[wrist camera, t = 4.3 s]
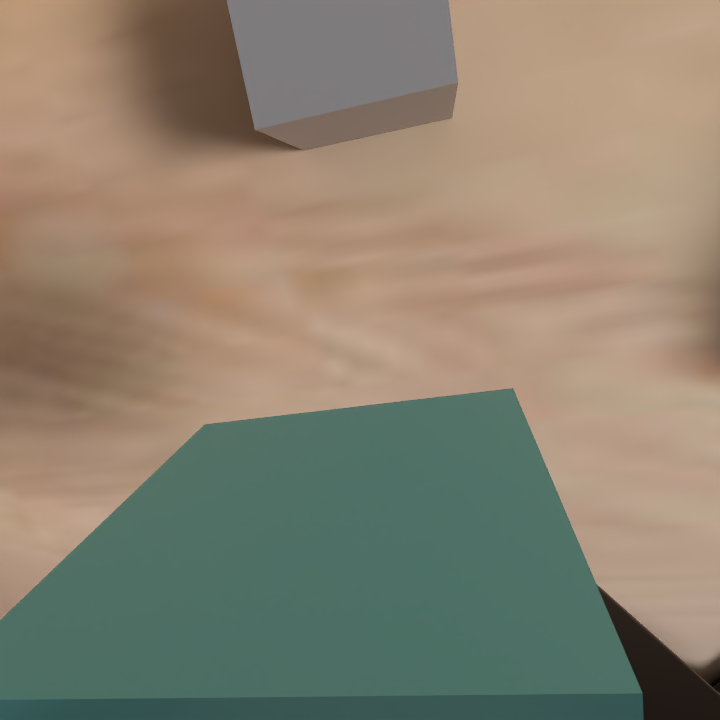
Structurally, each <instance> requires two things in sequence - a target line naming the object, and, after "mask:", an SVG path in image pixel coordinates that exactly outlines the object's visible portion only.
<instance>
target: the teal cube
mask: <svg viewBox="0 0 720 720" xmlns="http://www.w3.org/2000/svg"><path fill="white" fill-rule="evenodd" d="M0 720H644V716H643V693H642V691H641V688H640V686H639V684H638V681H637V679H636V677H635V674H634V672H633V670H632V667H631V665H630V663H629V660H628V658H627V655H626V653H625V651H624V648H623V646H622V644H621V641H620V639H619V637H618V634H617V632H616V630H615V627H614V625H613V623H612V620H611V618H610V615H609V613H608V611H607V608H606V606H605V604H604V601H603V599H602V597H601V594H600V592H599V590H598V587H597V585H596V583H595V580H594V578H593V575H592V573H591V571H590V568H589V566H588V564H587V561H586V559H585V557H584V554H583V552H582V550H581V547H580V545H579V543H578V540H577V538H576V535H575V533H574V531H573V528H572V526H571V524H570V521H569V519H568V517H567V514H566V512H565V510H564V507H563V505H562V503H561V500H560V498H559V495H558V493H557V491H556V488H555V486H554V484H553V481H552V479H551V477H550V474H549V472H548V470H547V467H546V465H545V463H544V460H543V458H542V455H541V453H540V451H539V448H538V446H537V444H536V441H535V439H534V437H533V434H532V432H531V430H530V427H529V425H528V423H527V420H526V418H525V415H524V413H523V411H522V408H521V406H520V404H519V401H518V399H517V397H516V394H515V392H514V390H513V388H512V389H504V390H495V391H487V392H478V393H470V394H461V395H453V396H444V397H435V398H427V399H418V400H410V401H401V402H393V403H384V404H376V405H367V406H359V407H350V408H342V409H333V410H325V411H316V412H308V413H299V414H290V415H282V416H273V417H265V418H256V419H248V420H239V421H231V422H222V423H214V424H205V425H204V426H203V427H202V428H201V429H200V430H199V431H198V432H197V433H196V434H194V435H193V436H192V437H191V438H190V439H189V440H188V441H187V442H186V443H185V444H184V445H183V446H182V447H181V448H180V449H179V450H178V451H177V452H176V453H175V454H174V455H173V456H171V457H170V458H169V459H168V460H167V461H166V462H165V463H164V464H163V465H162V466H161V467H160V468H159V469H158V470H157V471H156V472H155V473H154V474H153V475H152V476H151V477H150V478H148V479H147V480H146V481H145V482H144V483H143V484H142V485H141V486H140V487H139V488H138V489H137V490H136V491H135V492H134V493H133V494H132V495H131V496H130V497H129V498H128V499H126V500H125V501H124V502H123V503H122V504H121V505H120V506H119V507H118V508H117V509H116V510H115V511H114V512H113V513H112V514H111V515H110V516H109V517H108V518H107V519H106V520H105V521H103V522H102V523H101V524H100V525H99V526H98V527H97V528H96V529H95V530H94V531H93V532H92V533H91V534H90V535H89V536H88V537H87V538H86V539H85V540H84V541H83V542H82V543H80V544H79V545H78V546H77V547H76V548H75V549H74V550H73V551H72V552H71V553H70V554H69V555H68V556H67V557H66V558H65V559H64V560H63V561H62V562H61V563H60V564H58V565H57V566H56V567H55V568H54V569H53V570H52V571H51V572H50V573H49V574H48V575H47V576H46V577H45V578H44V579H43V580H42V581H41V582H40V583H39V584H38V585H37V586H35V587H34V588H33V589H32V590H31V591H30V592H29V593H28V594H27V595H26V596H25V597H24V598H23V599H22V600H21V601H20V602H19V603H18V604H17V605H16V606H15V607H14V608H12V609H11V610H10V611H9V612H8V613H7V614H6V615H5V616H4V617H3V618H2V619H1V620H0Z"/></svg>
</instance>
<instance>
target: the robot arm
mask: <svg viewBox="0 0 720 720" xmlns="http://www.w3.org/2000/svg"><path fill="white" fill-rule="evenodd" d="M596 585H597V584H596ZM597 587H598V590H599V592H600V594H601V597H602V599H603V601H604V604H605V606H606V608H607V611H608V613H609V615H610V618H611V620H612V623H613V625H614V627H615V630H616V632H617V634H618V637H619V639H620V641H621V644H622V646H623V648H624V651H625V653H626V655H627V658H628V660H629V663H630V665H631V667H632V670H633V672H634V674H635V677H636V679H637V681H638V684H639V686H640V688H641V691H642V693H643V716H644V720H720V678H718V679H717V680H716V681H714V682H713V683H712V684H710V685H709V684H708V683H707V682H706V681H705V680H704V679H703V678H702V677H700V676H699V675H698V674H697V673H696V672H695V671H694V670H693V669H691V668H690V667H689V666H688V665H687V664H686V663H685V662H684V661H682V660H681V659H680V658H679V657H678V656H677V655H676V654H675V653H673V652H672V651H671V650H670V649H669V648H668V647H667V646H666V645H664V644H663V643H662V642H661V641H660V640H659V639H658V638H657V637H655V636H654V635H653V634H652V633H651V632H650V631H649V630H648V629H646V628H645V627H644V626H643V625H642V624H641V623H640V622H639V621H637V620H636V619H635V618H634V617H633V616H632V615H631V614H629V613H628V612H627V611H626V610H625V609H624V608H623V607H622V606H620V605H619V604H618V603H617V602H616V601H615V600H614V599H613V598H611V597H610V596H609V595H608V594H607V593H606V592H605V591H604V590H602V589H601V588H600V587H599V586H598V585H597Z"/></svg>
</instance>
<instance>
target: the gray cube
mask: <svg viewBox="0 0 720 720" xmlns="http://www.w3.org/2000/svg"><path fill="white" fill-rule="evenodd" d="M227 5H228V9H229V14H230V18H231V23H232V28H233V32H234V37H235V41H236V46H237V51H238V55H239V60H240V64H241V69H242V74H243V78H244V83H245V87H246V92H247V96H248V101H249V106H250V110H251V115H252V119H253V124H254V129H255V130H257V131H259V132H261V133H264V134H266V135H268V136H271V137H273V138H275V139H278V140H280V141H283V142H285V143H287V144H290V145H292V146H294V147H297V148H299V149H301V150H308V149H313V148H317V147H322V146H327V145H331V144H336V143H340V142H345V141H349V140H354V139H358V138H363V137H368V136H372V135H377V134H381V133H386V132H390V131H395V130H399V129H404V128H409V127H413V126H418V125H422V124H427V123H431V122H436V121H440V120H445V119H450V118H452V114H453V109H454V103H455V97H456V91H457V85H458V78H457V70H456V62H455V53H454V45H453V36H452V28H451V19H450V11H449V2H448V0H227Z"/></svg>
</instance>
